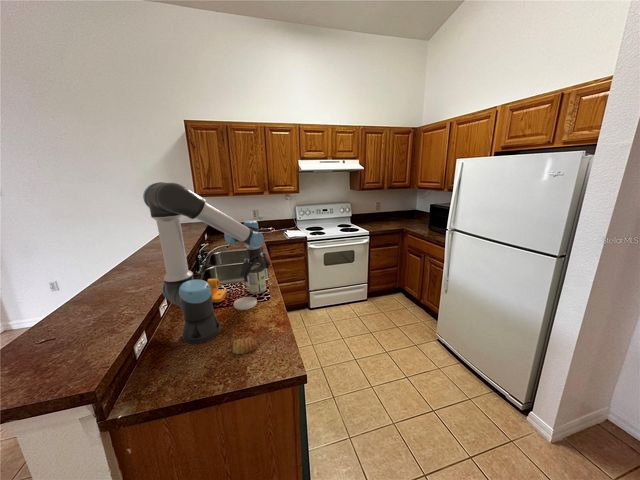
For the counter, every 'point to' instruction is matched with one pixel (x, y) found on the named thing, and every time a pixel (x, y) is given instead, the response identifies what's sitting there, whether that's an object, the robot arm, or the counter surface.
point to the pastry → (244, 346)
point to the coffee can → (257, 279)
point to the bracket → (216, 290)
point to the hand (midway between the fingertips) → (257, 282)
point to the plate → (245, 303)
